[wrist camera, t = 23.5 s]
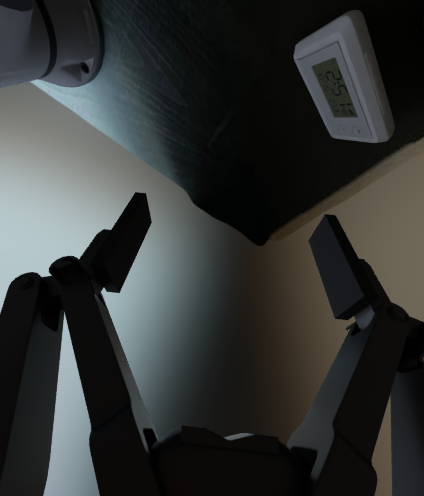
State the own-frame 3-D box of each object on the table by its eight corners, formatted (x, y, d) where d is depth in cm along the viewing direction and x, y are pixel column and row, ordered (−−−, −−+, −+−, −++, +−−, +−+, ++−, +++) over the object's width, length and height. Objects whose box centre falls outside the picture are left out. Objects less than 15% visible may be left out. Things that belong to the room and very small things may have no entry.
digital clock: (288, 42, 28) (305, 44, 21) (362, -14, 24) (414, -35, 17) (314, 145, 38) (331, 171, 31) (370, 117, 34) (406, 140, 27)
